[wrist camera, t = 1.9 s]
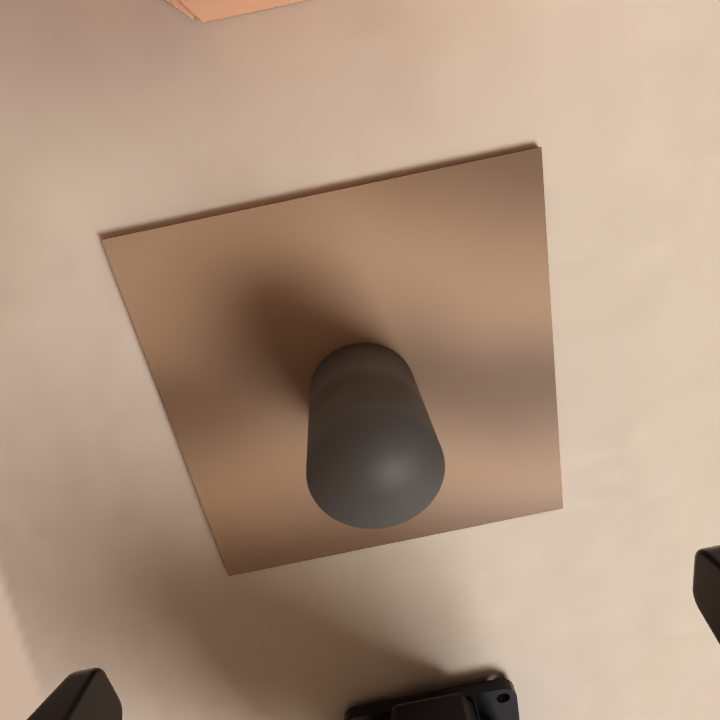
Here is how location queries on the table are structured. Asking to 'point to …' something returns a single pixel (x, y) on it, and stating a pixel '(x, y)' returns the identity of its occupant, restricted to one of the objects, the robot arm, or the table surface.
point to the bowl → (225, 7)
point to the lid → (357, 359)
